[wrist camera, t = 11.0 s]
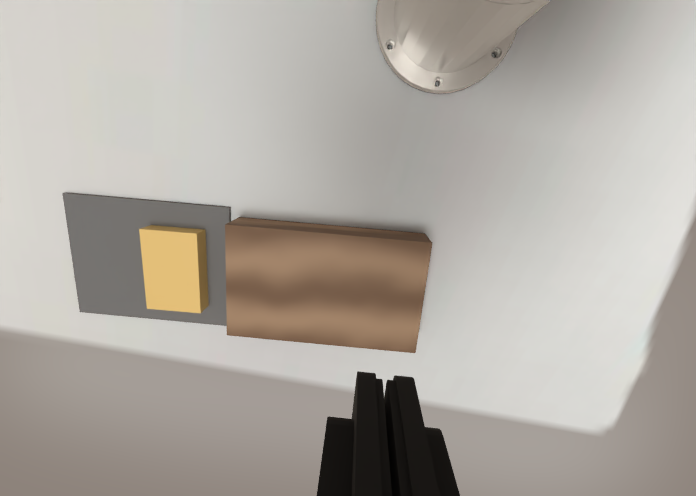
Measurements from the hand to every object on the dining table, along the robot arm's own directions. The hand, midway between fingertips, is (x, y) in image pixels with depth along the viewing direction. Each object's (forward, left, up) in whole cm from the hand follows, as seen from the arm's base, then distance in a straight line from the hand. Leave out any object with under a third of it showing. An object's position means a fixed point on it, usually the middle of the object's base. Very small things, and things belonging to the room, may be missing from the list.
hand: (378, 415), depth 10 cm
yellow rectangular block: (+6, -20, -25) cm, 32 cm away
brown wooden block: (+6, -4, -27) cm, 28 cm away
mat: (+6, -24, -27) cm, 37 cm away
